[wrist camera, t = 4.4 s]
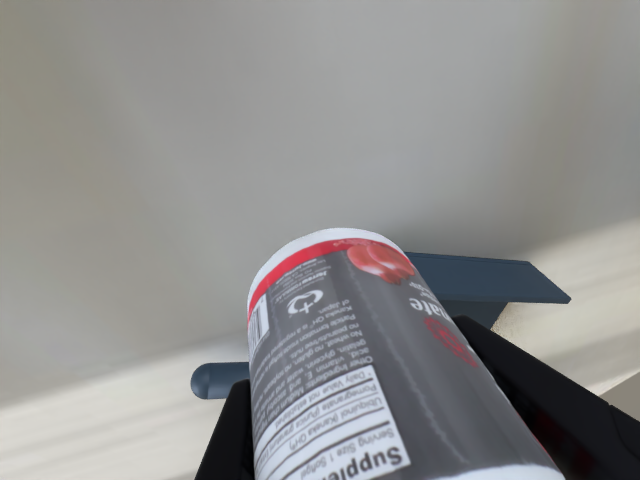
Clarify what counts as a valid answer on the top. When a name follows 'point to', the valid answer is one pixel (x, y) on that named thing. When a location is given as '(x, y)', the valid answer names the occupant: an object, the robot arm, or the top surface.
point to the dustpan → (450, 290)
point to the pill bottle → (371, 374)
